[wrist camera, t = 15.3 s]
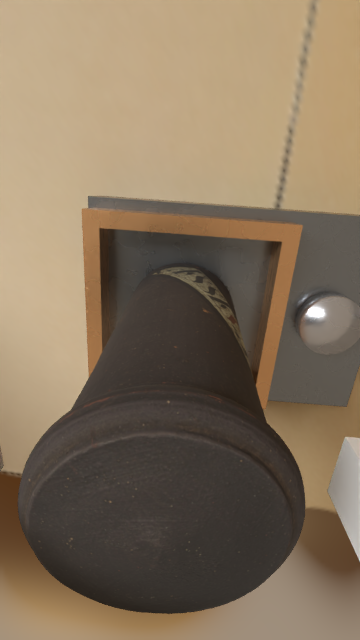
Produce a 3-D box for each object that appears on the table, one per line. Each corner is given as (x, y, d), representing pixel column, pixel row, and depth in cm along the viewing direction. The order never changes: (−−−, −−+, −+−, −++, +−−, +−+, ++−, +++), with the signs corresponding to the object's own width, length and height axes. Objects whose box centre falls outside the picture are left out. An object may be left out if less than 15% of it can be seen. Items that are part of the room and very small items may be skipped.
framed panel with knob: (105, 365, 34) (86, 401, 28) (102, 195, 28) (76, 196, 22) (329, 383, 34) (359, 424, 28) (376, 216, 28) (427, 222, 22)
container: (243, 341, 28) (339, 627, 10) (147, 363, 29) (66, 655, 11) (220, 245, 25) (295, 390, 7) (114, 275, 26) (-74, 468, 8)
